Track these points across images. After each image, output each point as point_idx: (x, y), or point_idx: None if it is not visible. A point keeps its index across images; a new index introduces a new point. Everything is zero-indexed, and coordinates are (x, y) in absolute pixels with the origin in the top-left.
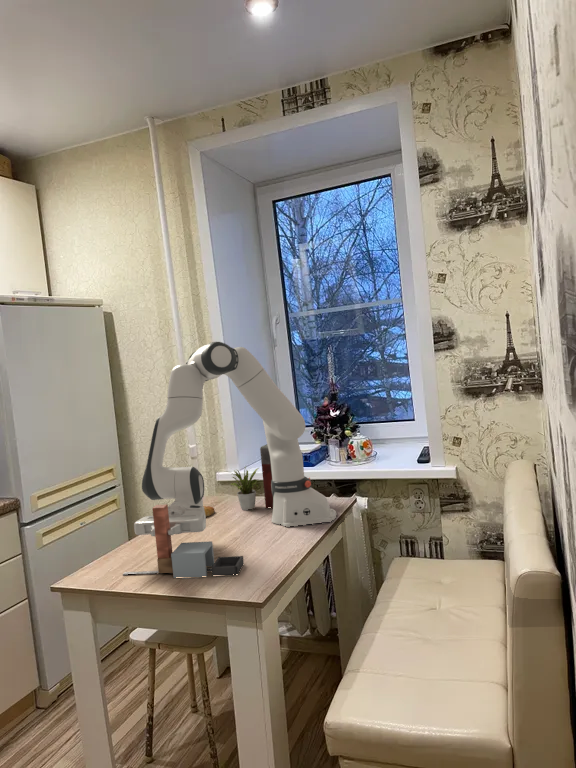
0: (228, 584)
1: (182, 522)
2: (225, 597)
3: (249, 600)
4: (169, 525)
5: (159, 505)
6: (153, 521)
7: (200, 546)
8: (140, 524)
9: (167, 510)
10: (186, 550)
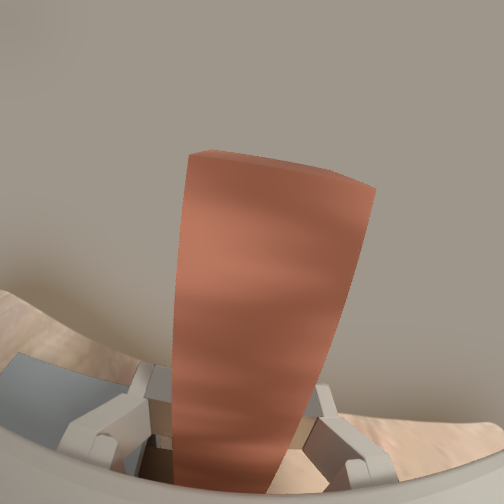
0: (6, 356)
1: (32, 444)
2: (37, 312)
3: (8, 292)
4: (173, 408)
5: (305, 170)
6: (424, 494)
7: (6, 424)
8: (495, 453)
9: (184, 239)
10: (79, 407)
